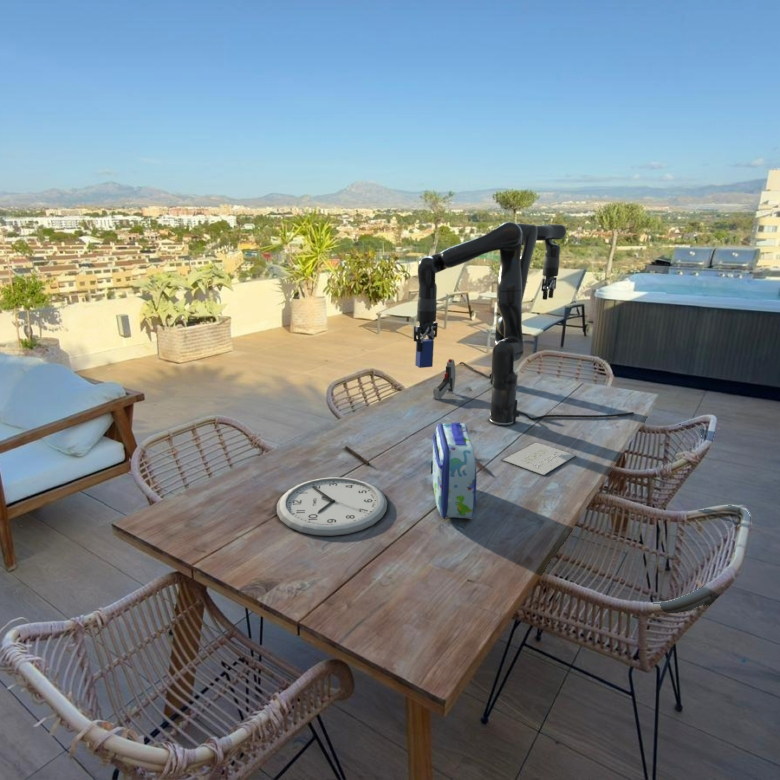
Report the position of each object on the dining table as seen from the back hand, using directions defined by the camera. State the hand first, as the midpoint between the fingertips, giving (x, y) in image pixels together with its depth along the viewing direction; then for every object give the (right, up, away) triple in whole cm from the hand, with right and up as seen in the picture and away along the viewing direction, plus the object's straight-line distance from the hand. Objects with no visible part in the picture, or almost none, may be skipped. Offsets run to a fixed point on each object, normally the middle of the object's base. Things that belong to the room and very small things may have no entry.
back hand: (547, 298), depth 267 cm
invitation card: (-31, -69, -93) cm, 120 cm away
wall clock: (-96, -78, -124) cm, 176 cm away
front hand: (-67, -31, -57) cm, 93 cm away
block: (-67, -37, -55) cm, 94 cm away
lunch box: (-63, -78, -121) cm, 157 cm away
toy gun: (-56, -49, -29) cm, 80 cm away
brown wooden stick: (-92, -69, -94) cm, 148 cm away
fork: (-53, -71, -98) cm, 131 cm away
